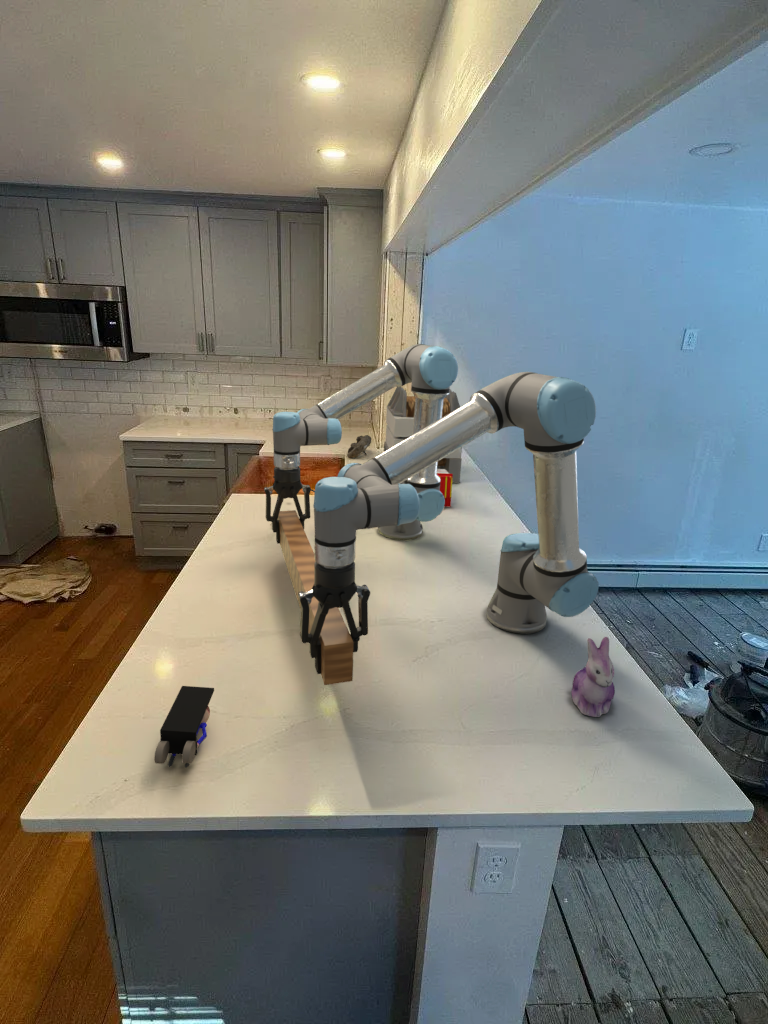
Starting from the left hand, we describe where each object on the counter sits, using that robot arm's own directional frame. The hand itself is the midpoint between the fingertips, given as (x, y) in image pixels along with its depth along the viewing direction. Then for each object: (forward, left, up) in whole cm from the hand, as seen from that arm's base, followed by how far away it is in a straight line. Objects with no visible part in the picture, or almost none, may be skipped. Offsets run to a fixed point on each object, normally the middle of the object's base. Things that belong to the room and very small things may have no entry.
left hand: (288, 540), depth 171 cm
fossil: (-95, +103, -7) cm, 140 cm away
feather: (-37, +20, -7) cm, 43 cm away
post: (+30, -13, -1) cm, 33 cm away
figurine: (+94, +15, -7) cm, 95 cm away
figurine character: (+55, -54, -8) cm, 77 cm away
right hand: (+60, -27, 0) cm, 66 cm away
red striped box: (-21, +86, -7) cm, 89 cm away
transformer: (-51, +105, -7) cm, 117 cm away
